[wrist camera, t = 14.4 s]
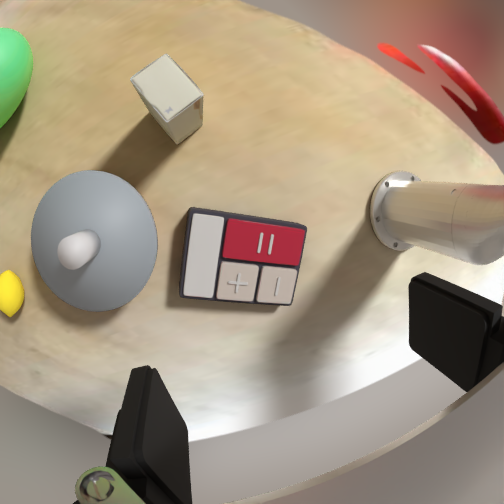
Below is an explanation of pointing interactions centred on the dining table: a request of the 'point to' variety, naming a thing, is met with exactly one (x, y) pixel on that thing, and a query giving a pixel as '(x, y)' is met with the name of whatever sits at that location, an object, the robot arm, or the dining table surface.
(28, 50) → the toy bird
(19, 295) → the lemon
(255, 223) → the calculator
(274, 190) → the dining table surface
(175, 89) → the skincare box
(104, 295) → the lid
